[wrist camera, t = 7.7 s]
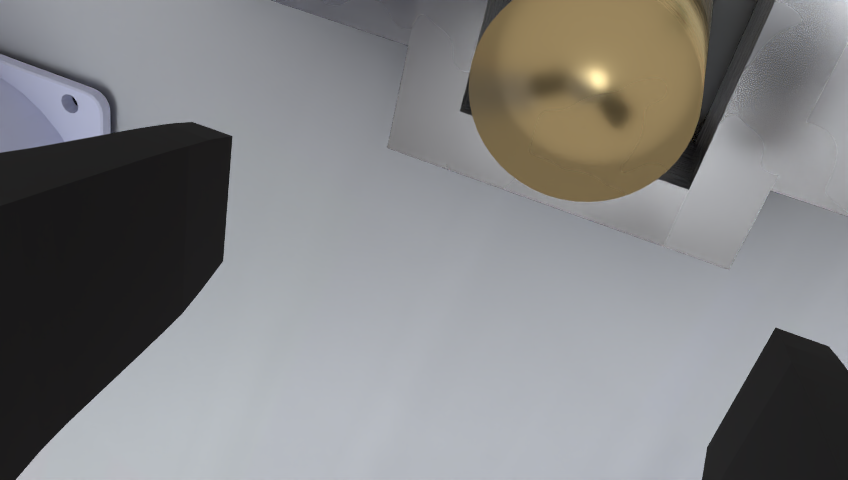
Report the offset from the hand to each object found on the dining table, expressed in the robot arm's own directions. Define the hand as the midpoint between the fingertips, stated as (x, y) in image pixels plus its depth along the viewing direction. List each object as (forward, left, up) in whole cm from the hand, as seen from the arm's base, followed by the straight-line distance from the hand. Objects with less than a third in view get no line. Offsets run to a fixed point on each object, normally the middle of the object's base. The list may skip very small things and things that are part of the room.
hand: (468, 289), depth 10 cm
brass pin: (0, +2, -8) cm, 9 cm away
